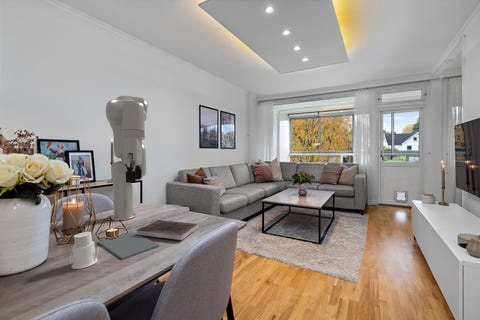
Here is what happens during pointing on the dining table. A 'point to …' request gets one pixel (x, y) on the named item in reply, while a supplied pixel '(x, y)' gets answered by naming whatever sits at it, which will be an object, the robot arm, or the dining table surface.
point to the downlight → (83, 251)
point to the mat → (128, 245)
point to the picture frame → (167, 229)
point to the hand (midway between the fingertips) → (134, 180)
